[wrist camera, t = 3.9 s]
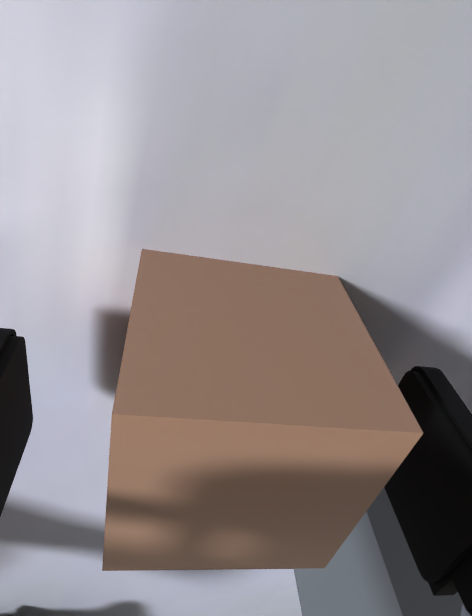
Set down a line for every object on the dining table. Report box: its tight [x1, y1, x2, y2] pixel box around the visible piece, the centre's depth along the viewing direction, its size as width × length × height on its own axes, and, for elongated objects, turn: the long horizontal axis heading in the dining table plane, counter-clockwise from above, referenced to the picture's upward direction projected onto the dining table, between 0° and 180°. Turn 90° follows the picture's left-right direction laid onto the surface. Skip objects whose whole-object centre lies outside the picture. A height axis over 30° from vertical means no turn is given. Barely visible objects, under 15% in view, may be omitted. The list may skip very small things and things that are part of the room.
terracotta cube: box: [102, 249, 423, 571], centre depth 10 cm, size 5×5×5 cm
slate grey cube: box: [294, 488, 463, 616], centre depth 16 cm, size 5×5×5 cm
